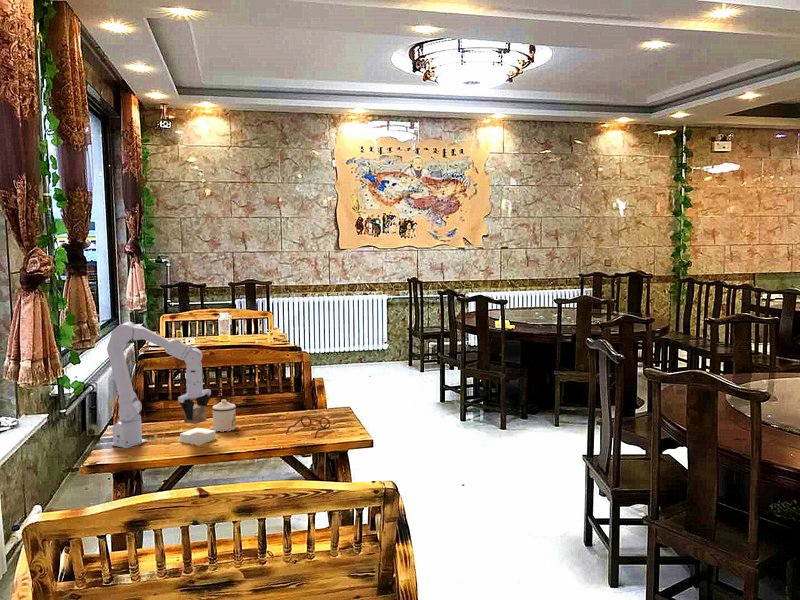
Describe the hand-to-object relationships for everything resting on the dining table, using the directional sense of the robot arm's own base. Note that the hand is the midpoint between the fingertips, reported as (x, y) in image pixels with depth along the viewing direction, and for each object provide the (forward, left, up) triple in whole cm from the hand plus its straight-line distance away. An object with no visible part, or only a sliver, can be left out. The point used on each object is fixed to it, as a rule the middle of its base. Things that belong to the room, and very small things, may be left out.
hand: (195, 417), depth 244 cm
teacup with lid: (+17, +2, -9) cm, 19 cm away
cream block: (0, -1, -9) cm, 9 cm away
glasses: (+29, -30, -9) cm, 43 cm away
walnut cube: (0, 0, -2) cm, 2 cm away
